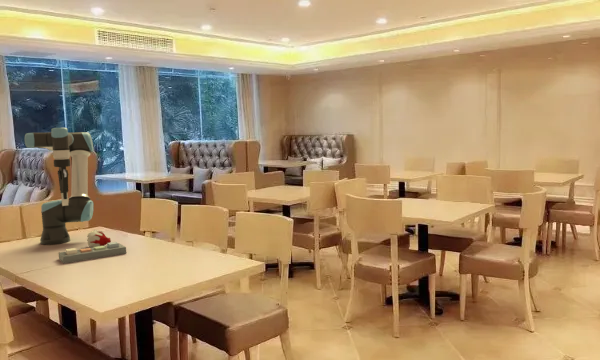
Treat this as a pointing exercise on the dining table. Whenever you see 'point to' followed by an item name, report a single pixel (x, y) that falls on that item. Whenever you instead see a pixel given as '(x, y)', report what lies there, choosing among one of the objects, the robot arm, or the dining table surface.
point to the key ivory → (71, 251)
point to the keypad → (91, 254)
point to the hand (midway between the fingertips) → (65, 205)
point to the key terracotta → (85, 250)
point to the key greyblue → (112, 245)
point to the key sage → (99, 248)
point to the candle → (97, 239)
